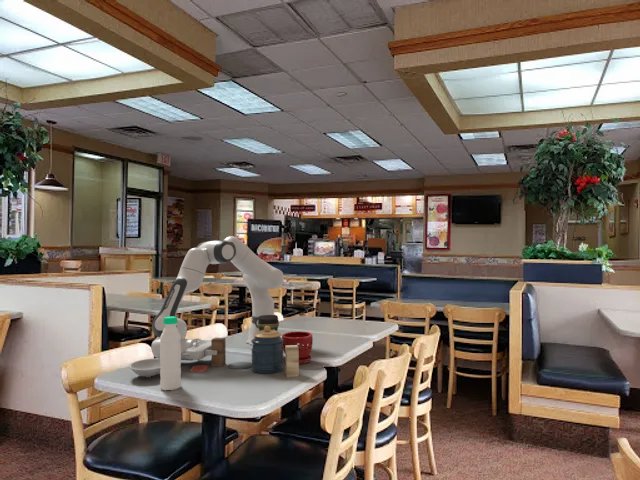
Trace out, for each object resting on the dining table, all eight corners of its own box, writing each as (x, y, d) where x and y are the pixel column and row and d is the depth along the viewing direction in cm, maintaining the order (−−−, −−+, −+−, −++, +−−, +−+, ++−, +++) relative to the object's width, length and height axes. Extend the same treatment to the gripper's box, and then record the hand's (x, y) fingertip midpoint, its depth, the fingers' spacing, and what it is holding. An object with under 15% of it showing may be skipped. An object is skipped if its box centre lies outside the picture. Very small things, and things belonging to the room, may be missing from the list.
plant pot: (282, 358, 212) (282, 331, 212) (311, 357, 213) (311, 330, 213) (281, 366, 199) (281, 337, 199) (313, 365, 200) (313, 336, 200)
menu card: (193, 367, 200) (193, 365, 200) (208, 367, 200) (208, 365, 200) (190, 373, 191) (190, 371, 191) (205, 372, 191) (205, 370, 191)
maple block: (285, 373, 186) (285, 345, 187) (296, 373, 187) (296, 344, 188) (287, 376, 182) (286, 347, 182) (298, 376, 183) (298, 347, 183)
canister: (250, 366, 198) (249, 324, 198) (281, 364, 201) (281, 322, 201) (252, 375, 185) (252, 329, 185) (285, 372, 188) (285, 327, 188)
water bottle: (164, 385, 172) (164, 315, 173) (183, 385, 172) (183, 315, 172) (157, 391, 165) (156, 318, 166) (177, 391, 165) (177, 318, 165)
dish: (132, 372, 191) (132, 359, 191) (170, 369, 194) (170, 357, 194) (125, 384, 173) (125, 370, 174) (167, 381, 177) (167, 368, 177)
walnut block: (215, 363, 204) (215, 337, 204) (225, 363, 203) (225, 337, 204) (211, 366, 200) (211, 339, 200) (221, 366, 199) (221, 339, 199)
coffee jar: (278, 353, 222) (278, 313, 222) (280, 357, 214) (279, 316, 214) (257, 354, 220) (257, 314, 220) (258, 358, 212) (257, 316, 212)
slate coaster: (233, 362, 205) (233, 361, 205) (255, 363, 203) (255, 362, 203) (225, 368, 195) (225, 367, 195) (248, 369, 193) (248, 368, 193)
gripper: (178, 347, 193) (211, 348, 191) (198, 337, 214) (228, 338, 212) (178, 363, 193) (211, 364, 191) (198, 351, 213) (228, 352, 211)
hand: (220, 350), depth 202 cm, fingers open, 6 cm apart
